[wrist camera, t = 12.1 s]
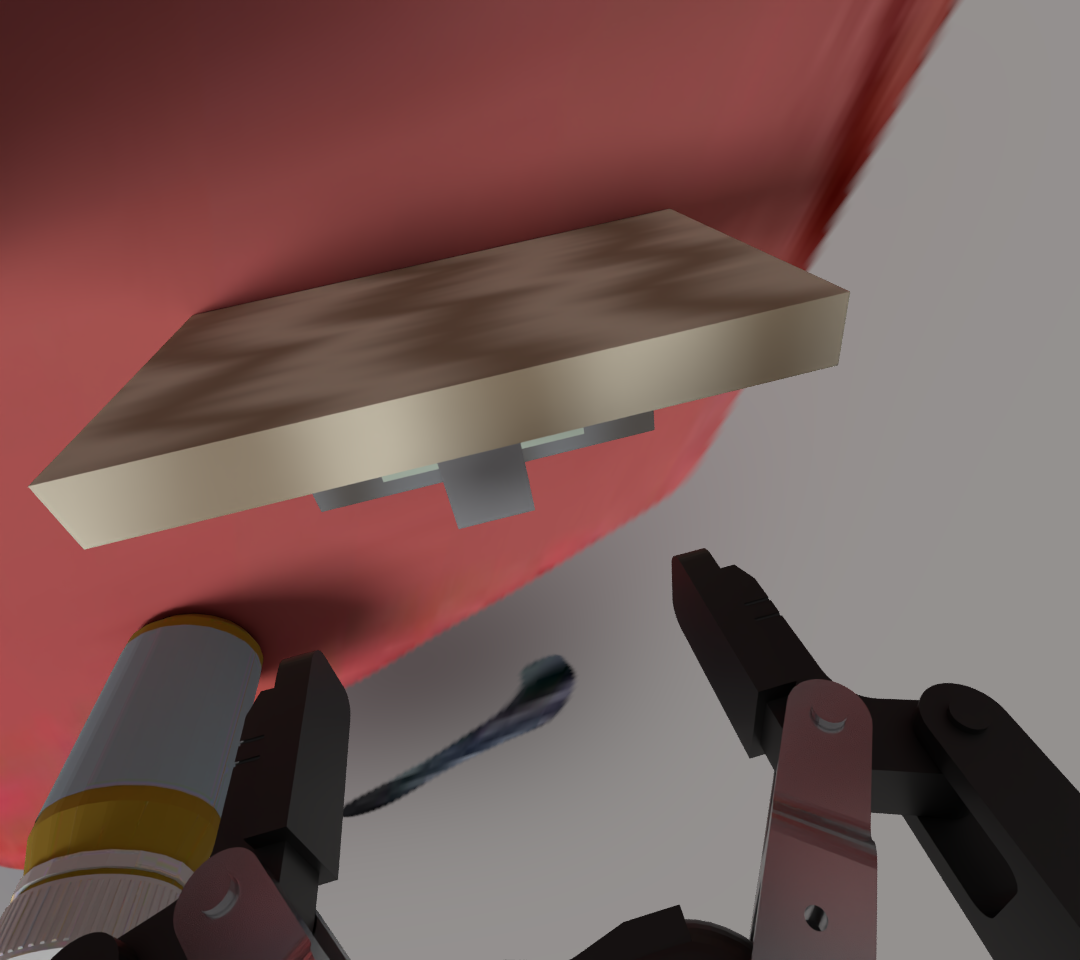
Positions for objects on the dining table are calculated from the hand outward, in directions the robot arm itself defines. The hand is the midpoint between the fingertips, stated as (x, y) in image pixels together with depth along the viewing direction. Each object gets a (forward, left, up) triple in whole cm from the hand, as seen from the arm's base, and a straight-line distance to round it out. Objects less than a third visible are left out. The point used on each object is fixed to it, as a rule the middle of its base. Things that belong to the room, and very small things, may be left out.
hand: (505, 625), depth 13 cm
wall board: (0, 0, -16) cm, 16 cm away
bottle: (-19, -14, -16) cm, 28 cm away
